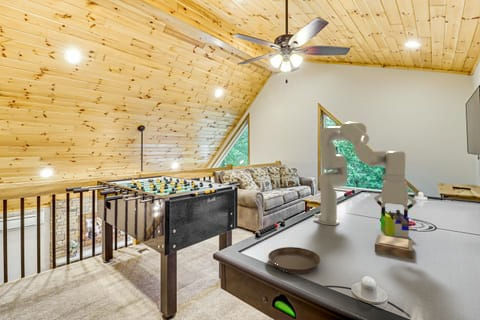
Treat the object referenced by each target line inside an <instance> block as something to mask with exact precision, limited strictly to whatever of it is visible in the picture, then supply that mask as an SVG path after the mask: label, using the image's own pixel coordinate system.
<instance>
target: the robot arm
mask: <svg viewBox="0 0 480 320" xmlns="http://www.w3.org/2000/svg"><path fill="white" fill-rule="evenodd" d="M334 141H338V142H339V141H341V142H342V141H343V142H344V141H347V142H348V143H350V144H351V145H352V146H353V147H354V148H353V149H354V154H355V156H356V157H357V159H358V160H360V162H362V163H363V164H364V165H366V167H367V166H368V167H385V173H384V174H382V175H381V178H382V179H384V180H383V181H382V185H381V193H379V194H378V195H376V196H374V197H373V198H374V201H375V202H376V203H377V205H379V206H380V207H381V209H380V211H381V212H380V215H381V214H383V216H385V211H386V207H385V206H386V205H387V204H391V205H402V206H403V208H404V209H403V215H404V219H406V217H408V214H409V213H408V212H409V210H410V209H411V208H413V207H414V206H415V205H416V204H417V202H418V201H417V200H415V199H414V198H412V197H411V196H410V195H409V186H408V182H407V181H406V153H405V152H404V151H401V150H372V149H370V148H369V147H368V146H367V144H368V143H369V141H370V136H369V135H368V134H367V126H366V125H365V123H363V122H359V121H358V122H357V121H347V122H344V123H342V124H341V125H340V126H338V125H337V126H336V125H335V126H331V125H329V126H326V127H323V128H322V129H321V131H320V133H319V143H320V147H321V148H320V155H321V156H320V159H321V161H320V163H321V168H322V169H323V170H326V171H329V172H326V171H325V172H323V173H321V174H320V175H319V177H318V183H319V189H320V214H318V213H317V214H316V213H314V214H313V216H314V218H315V219H317V222H318V224H320V225H325V226H337V225H339V224H340V220H339V219H337V216H338V213H337V210H338V209H337V208H338V207H337V205H338V196H337V192H336V189H335V188H341V187H344V186H346V185H347V182H348V161H347V158H346V157H345V156H344V154H343V155H342V154H337V150H336V145H335V144H334ZM380 198H381V200H380ZM409 201H410V203H409V204H408V202H409ZM408 218H409V217H408Z"/></svg>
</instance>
